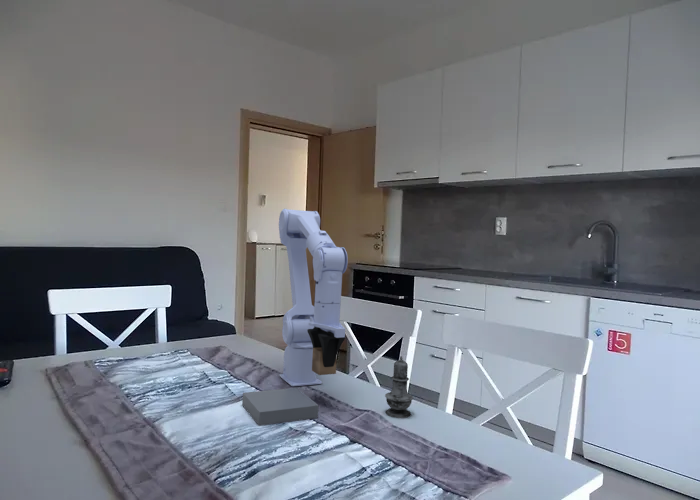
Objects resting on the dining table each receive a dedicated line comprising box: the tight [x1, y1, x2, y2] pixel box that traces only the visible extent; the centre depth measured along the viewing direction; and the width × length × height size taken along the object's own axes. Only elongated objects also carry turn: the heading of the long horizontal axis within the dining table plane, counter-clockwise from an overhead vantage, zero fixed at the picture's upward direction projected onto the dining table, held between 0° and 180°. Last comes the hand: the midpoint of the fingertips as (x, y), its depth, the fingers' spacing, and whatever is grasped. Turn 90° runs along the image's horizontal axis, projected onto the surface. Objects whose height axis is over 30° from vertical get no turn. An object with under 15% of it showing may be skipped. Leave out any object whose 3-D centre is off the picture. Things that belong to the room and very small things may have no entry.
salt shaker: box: [384, 356, 414, 419], centre depth 101 cm, size 6×6×12 cm
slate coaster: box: [241, 387, 319, 426], centre depth 99 cm, size 12×12×2 cm
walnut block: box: [312, 347, 338, 376], centre depth 106 cm, size 4×4×5 cm
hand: (324, 363), depth 106 cm, fingers closed on walnut block, 4 cm apart
